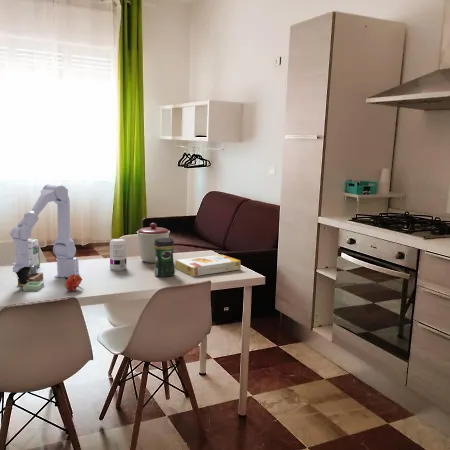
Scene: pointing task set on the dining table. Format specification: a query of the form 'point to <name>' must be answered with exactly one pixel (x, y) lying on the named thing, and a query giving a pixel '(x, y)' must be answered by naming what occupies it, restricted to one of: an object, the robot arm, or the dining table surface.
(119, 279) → the dining table surface
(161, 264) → the coffee jar
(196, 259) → the cereal box
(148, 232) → the canister
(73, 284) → the pomegranate
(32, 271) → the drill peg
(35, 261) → the syrup box
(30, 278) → the socket block
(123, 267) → the supplement can
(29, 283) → the tray
